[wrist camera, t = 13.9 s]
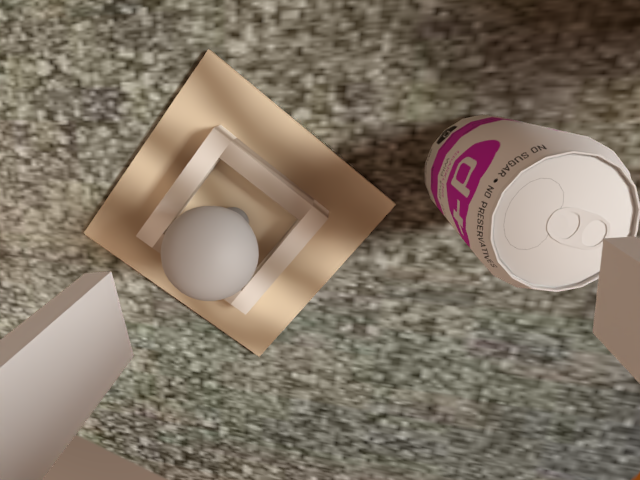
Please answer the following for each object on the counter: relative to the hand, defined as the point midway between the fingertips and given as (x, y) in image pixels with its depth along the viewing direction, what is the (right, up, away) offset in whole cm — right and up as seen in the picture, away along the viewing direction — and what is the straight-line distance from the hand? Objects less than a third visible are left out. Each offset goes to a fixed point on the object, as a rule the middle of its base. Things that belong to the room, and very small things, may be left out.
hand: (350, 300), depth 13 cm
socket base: (-7, +3, +26) cm, 27 cm away
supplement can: (+11, +7, +24) cm, 28 cm away
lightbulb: (-8, +3, +25) cm, 27 cm away
